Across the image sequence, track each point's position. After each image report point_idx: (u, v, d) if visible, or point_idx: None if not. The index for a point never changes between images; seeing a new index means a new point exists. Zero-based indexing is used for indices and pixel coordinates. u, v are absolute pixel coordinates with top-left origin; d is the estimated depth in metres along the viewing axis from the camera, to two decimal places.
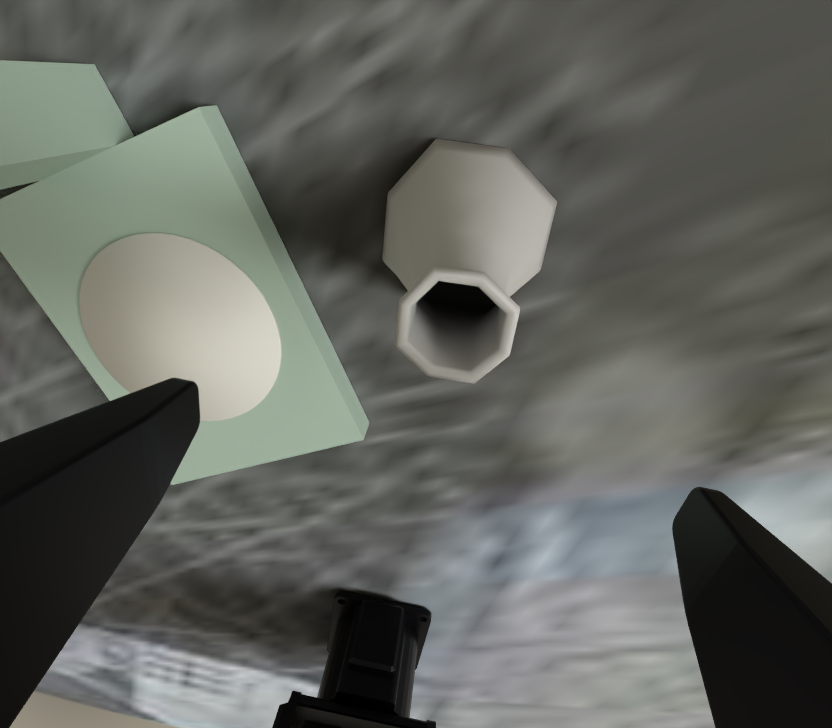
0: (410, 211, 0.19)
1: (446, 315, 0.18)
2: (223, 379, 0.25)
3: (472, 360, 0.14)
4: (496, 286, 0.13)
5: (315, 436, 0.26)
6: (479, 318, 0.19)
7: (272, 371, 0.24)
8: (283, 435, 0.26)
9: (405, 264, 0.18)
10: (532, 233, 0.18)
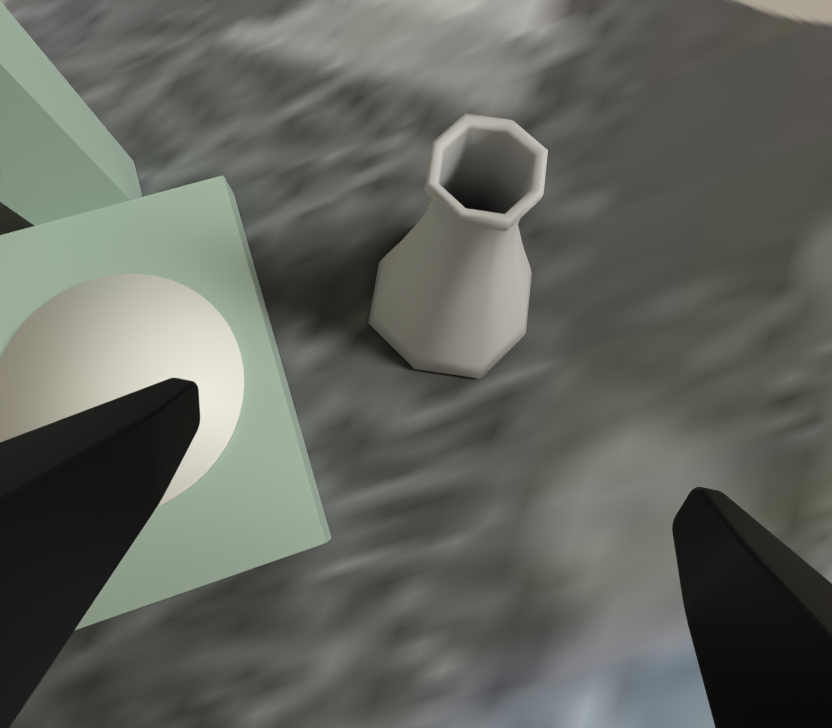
0: None
1: (450, 297, 0.18)
2: None
3: None
4: (523, 132, 0.14)
5: (258, 540, 0.19)
6: (482, 314, 0.18)
7: (222, 434, 0.20)
8: (212, 541, 0.19)
9: (408, 251, 0.18)
10: (522, 247, 0.20)
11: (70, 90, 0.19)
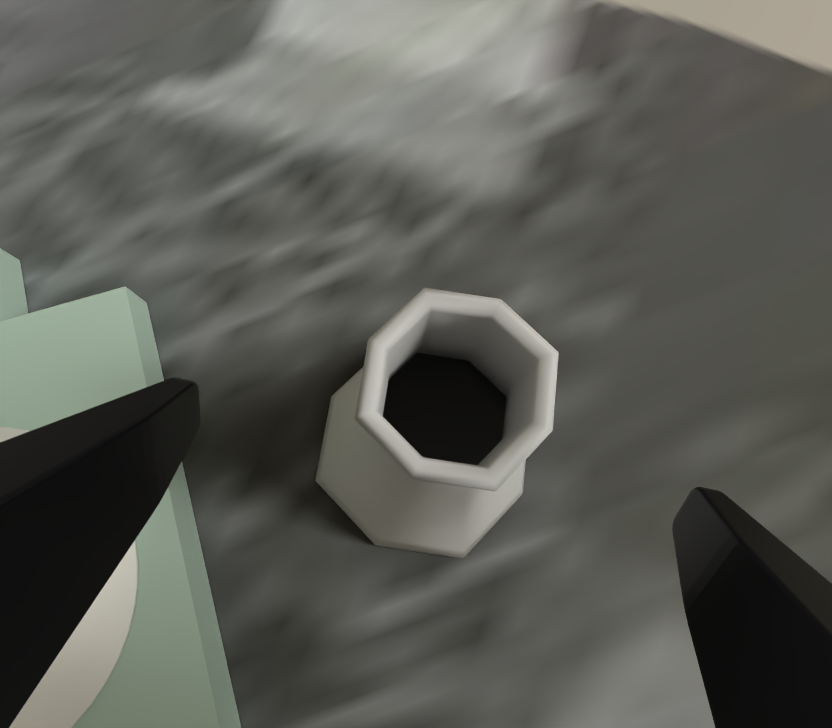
0: None
1: None
2: None
3: (485, 465, 0.08)
4: (518, 318, 0.08)
5: None
6: None
7: (102, 665, 0.14)
8: None
9: (357, 424, 0.13)
10: None
11: None
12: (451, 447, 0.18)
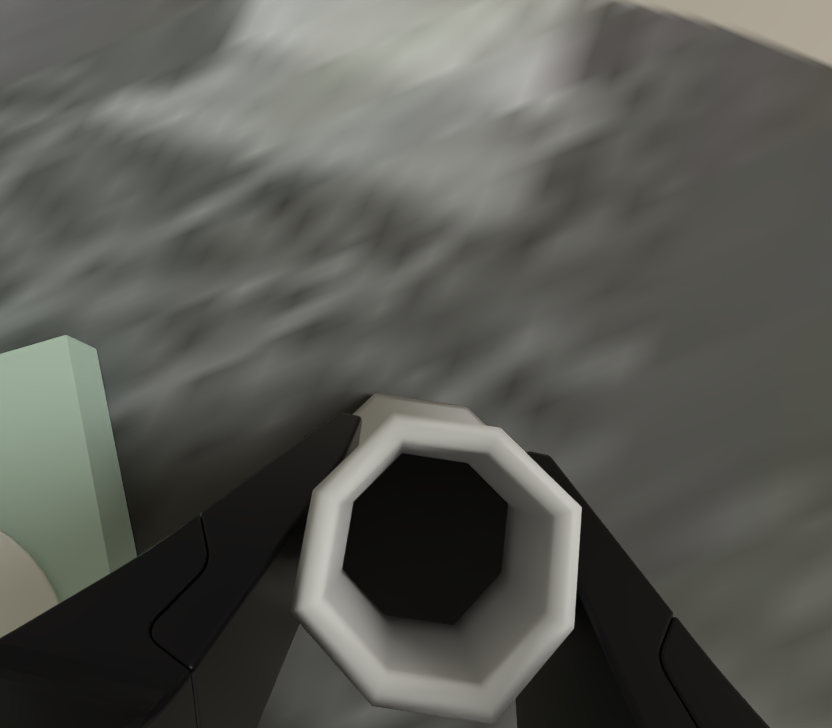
0: None
1: None
2: None
3: (478, 662, 0.06)
4: (524, 453, 0.06)
5: None
6: None
7: None
8: None
9: None
10: None
11: None
12: (445, 518, 0.15)
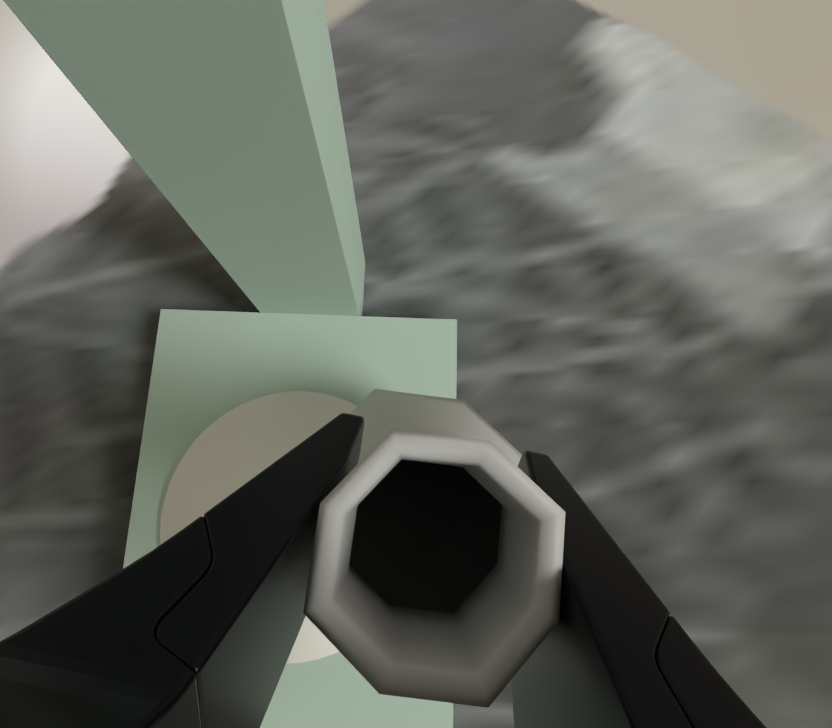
0: None
1: None
2: None
3: (474, 652, 0.07)
4: (513, 463, 0.07)
5: None
6: None
7: None
8: (337, 721, 0.18)
9: None
10: None
11: (356, 214, 0.18)
12: (445, 508, 0.16)
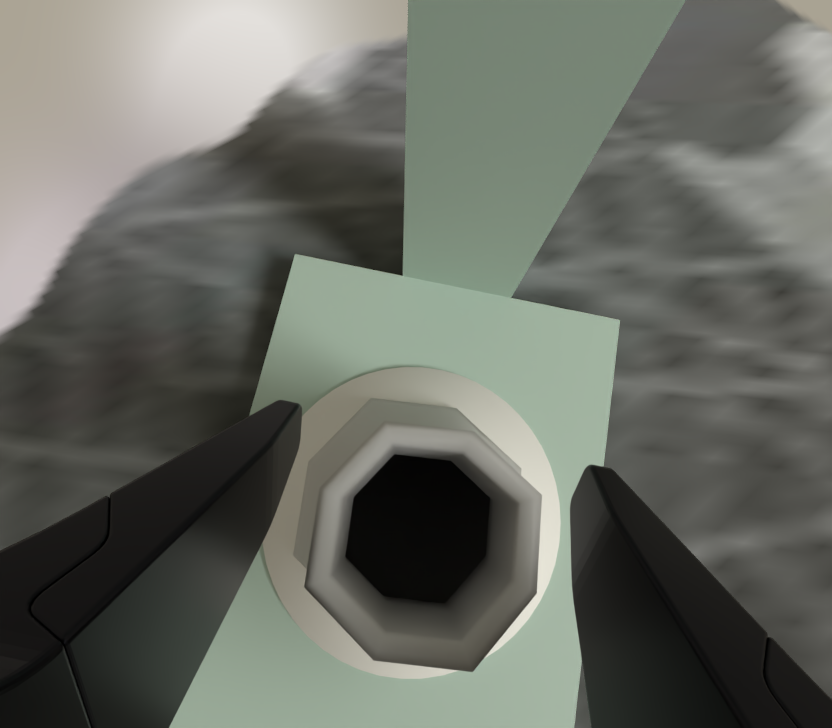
0: (338, 457, 0.14)
1: None
2: None
3: (460, 626, 0.07)
4: (494, 451, 0.07)
5: None
6: None
7: None
8: None
9: None
10: None
11: None
12: (439, 512, 0.16)
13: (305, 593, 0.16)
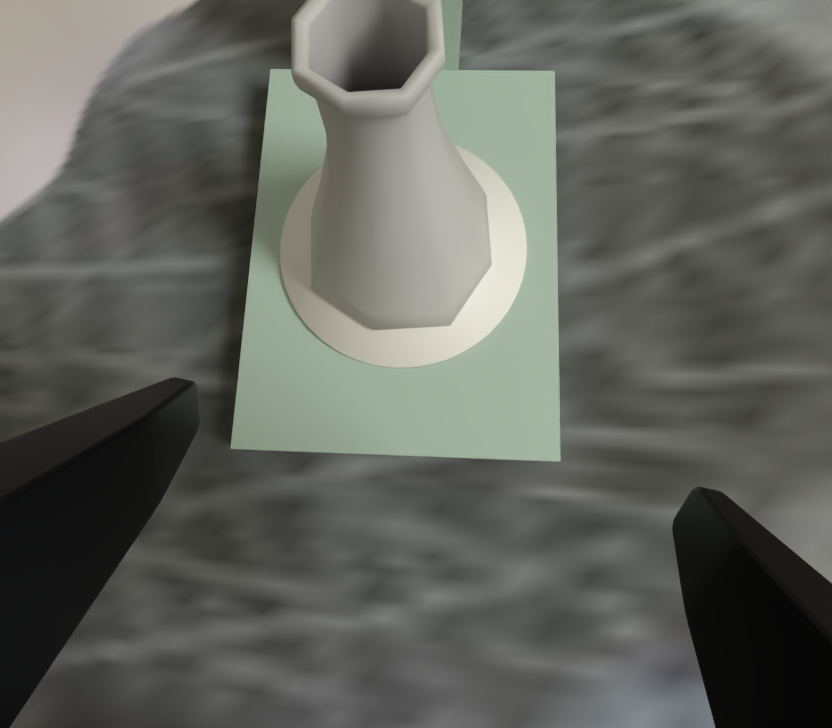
0: None
1: (382, 230, 0.15)
2: None
3: None
4: None
5: (494, 434, 0.19)
6: (425, 244, 0.15)
7: (489, 322, 0.19)
8: (450, 419, 0.19)
9: (324, 188, 0.15)
10: (461, 158, 0.17)
11: None
12: None
13: (326, 318, 0.19)
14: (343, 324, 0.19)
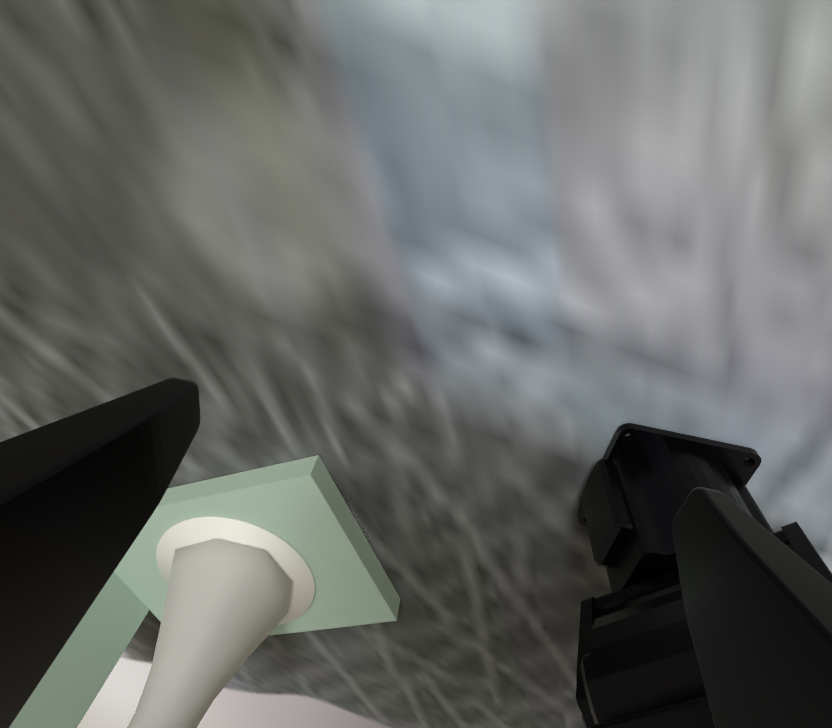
0: None
1: (224, 660, 0.26)
2: None
3: None
4: None
5: (315, 510, 0.27)
6: (219, 633, 0.26)
7: (249, 528, 0.28)
8: (320, 532, 0.28)
9: None
10: None
11: None
12: None
13: (299, 600, 0.31)
14: (298, 592, 0.30)
